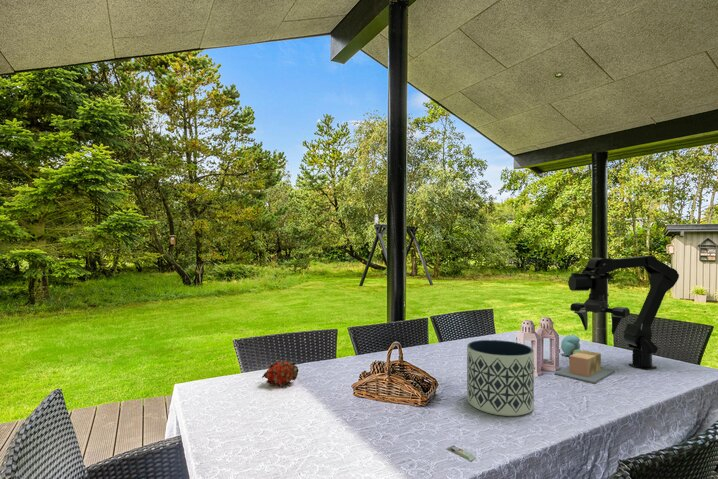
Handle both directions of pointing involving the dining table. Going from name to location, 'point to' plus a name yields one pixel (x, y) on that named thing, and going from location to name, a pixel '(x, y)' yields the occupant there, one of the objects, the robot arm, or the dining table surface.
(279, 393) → the dining table surface
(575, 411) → the dining table surface
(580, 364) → the oak block
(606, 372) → the charcoal mat
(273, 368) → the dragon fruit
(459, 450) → the granola bar
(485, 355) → the planter
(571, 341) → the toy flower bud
